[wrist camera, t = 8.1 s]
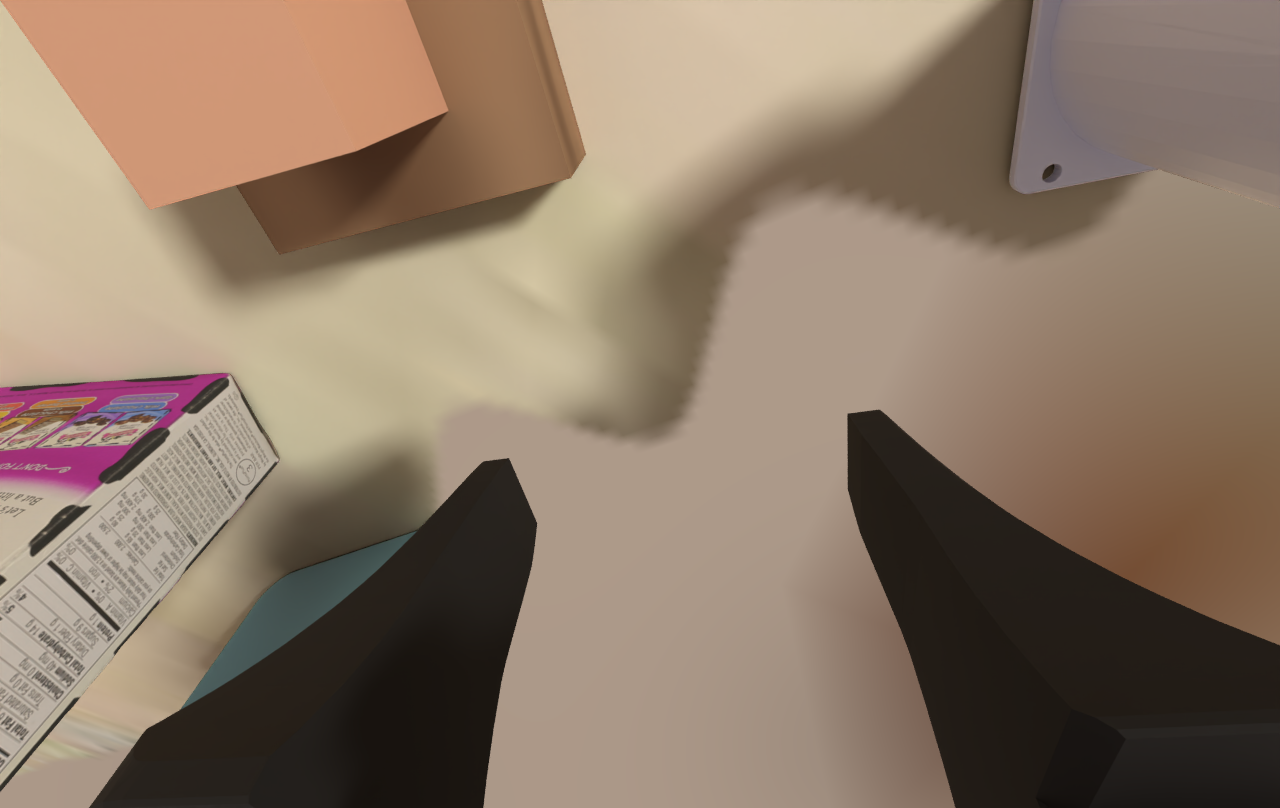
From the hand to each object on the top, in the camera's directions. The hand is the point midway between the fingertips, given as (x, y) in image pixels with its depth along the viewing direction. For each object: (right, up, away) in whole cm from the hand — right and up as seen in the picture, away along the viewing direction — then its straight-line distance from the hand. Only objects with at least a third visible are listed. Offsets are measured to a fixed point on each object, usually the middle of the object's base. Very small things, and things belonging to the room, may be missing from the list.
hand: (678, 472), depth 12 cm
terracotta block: (-8, +10, +1) cm, 13 cm away
